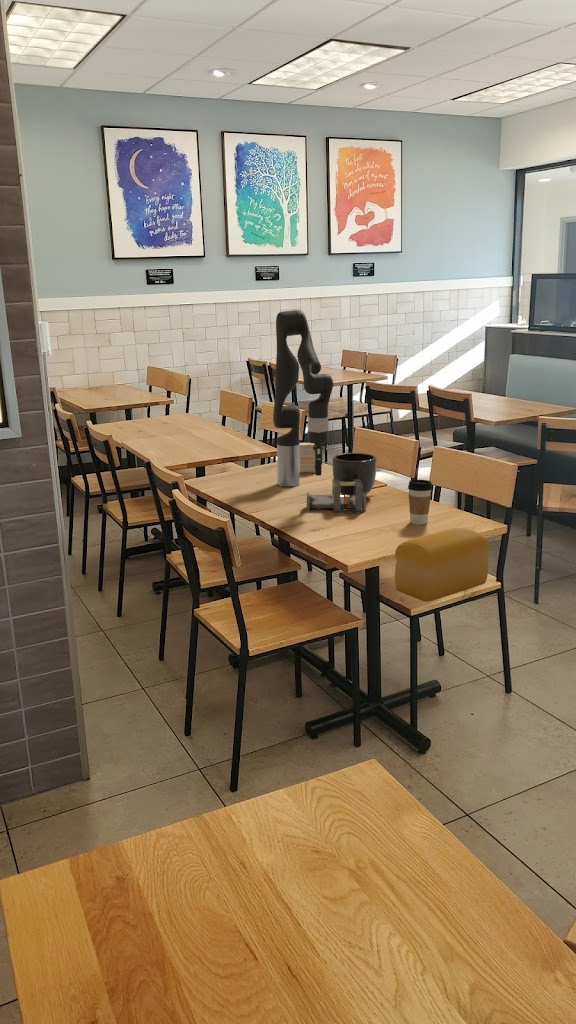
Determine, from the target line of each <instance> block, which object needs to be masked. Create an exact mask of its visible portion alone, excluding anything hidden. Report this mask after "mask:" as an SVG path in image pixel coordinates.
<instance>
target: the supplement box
mask: <svg viewBox="0 0 576 1024" xmlns="http://www.w3.org/2000/svg"><path fill="white" fill-rule="evenodd" d="M313 446H314V443H309V442H299V473H300V472H315V460H314V456H313Z"/></svg>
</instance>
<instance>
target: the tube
mask: <svg viewBox="0 0 576 1024" xmlns="http://www.w3.org/2000/svg"><path fill="white" fill-rule="evenodd" d="M310 509H334V495H332V494H310V492H306V511H307V512H310ZM340 509H355V495H342V494H341V505H340ZM363 511H367V494H366V493H365V492H363V497H362V512H363Z"/></svg>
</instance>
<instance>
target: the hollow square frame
mask: <svg viewBox="0 0 576 1024" xmlns="http://www.w3.org/2000/svg"><path fill="white" fill-rule="evenodd" d="M331 483H332V484H331V486H332V489H331V495H334V508H333V514H363V508H362V497H363V486H362V483H361V480H360V479H354V482H339V479H333V478H332V482H331ZM341 486H353V495H355V508H340V505H341V495H342V494H341Z"/></svg>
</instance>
